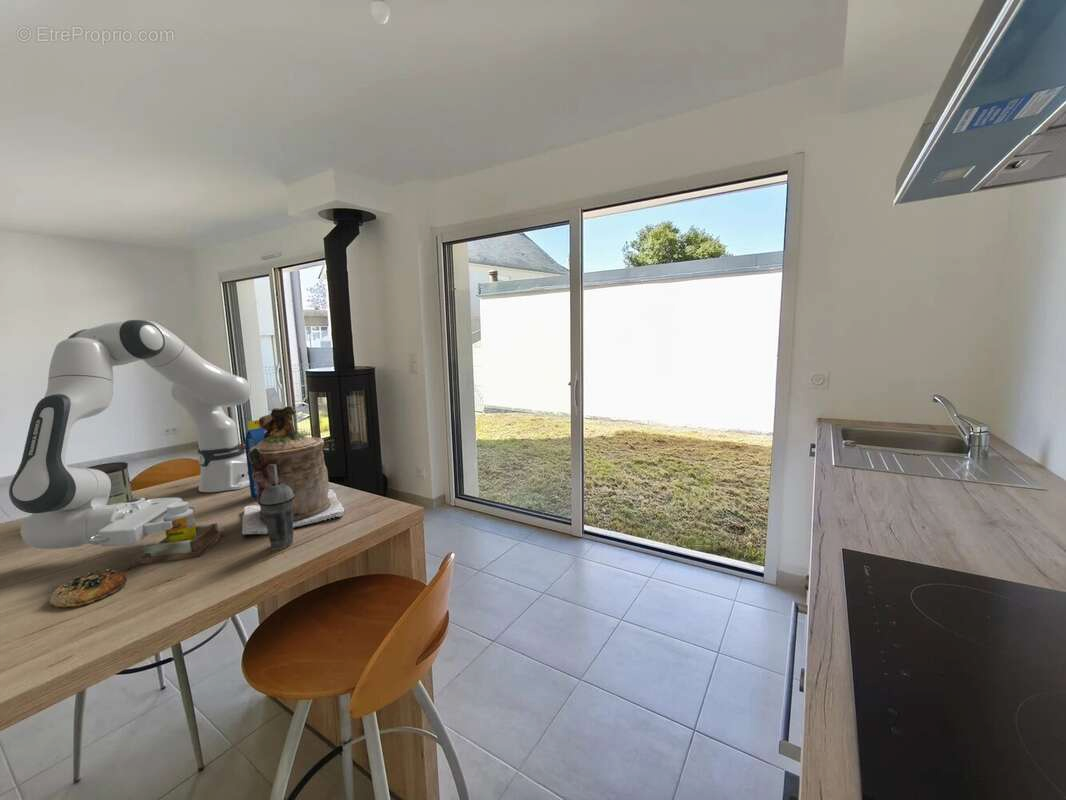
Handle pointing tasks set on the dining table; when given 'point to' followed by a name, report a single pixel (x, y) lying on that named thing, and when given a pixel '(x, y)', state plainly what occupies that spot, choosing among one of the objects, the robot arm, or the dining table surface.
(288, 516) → the beverage cup
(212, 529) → the clip cradle
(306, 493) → the cookie jar
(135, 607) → the dining table surface
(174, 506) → the supplement bottle
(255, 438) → the blue food package
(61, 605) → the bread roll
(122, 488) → the coffee can
